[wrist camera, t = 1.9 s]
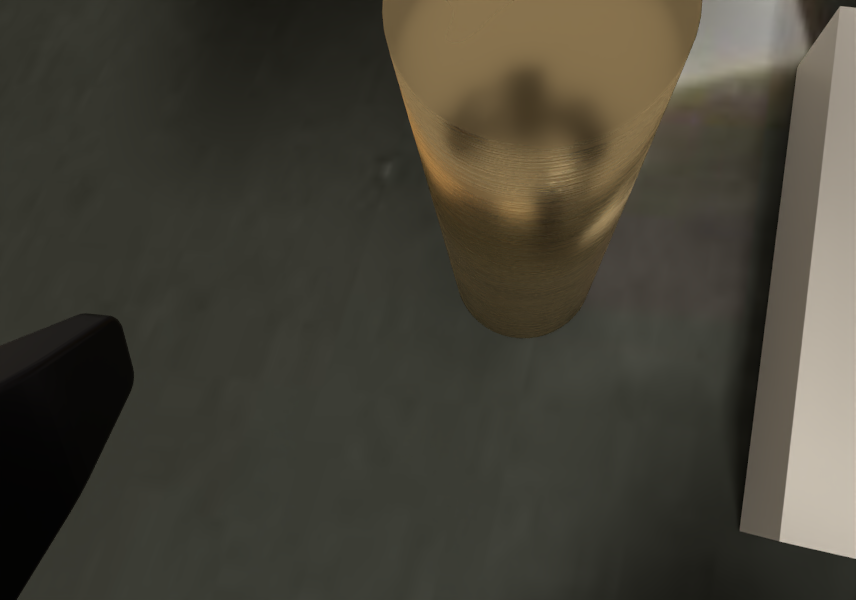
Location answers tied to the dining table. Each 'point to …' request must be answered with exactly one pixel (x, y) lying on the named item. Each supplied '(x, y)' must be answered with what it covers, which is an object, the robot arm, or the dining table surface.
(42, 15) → the dining table surface
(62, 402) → the robot arm
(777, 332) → the socket block
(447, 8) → the brass tube
